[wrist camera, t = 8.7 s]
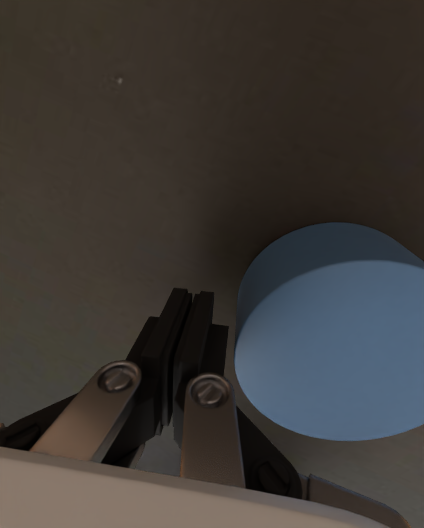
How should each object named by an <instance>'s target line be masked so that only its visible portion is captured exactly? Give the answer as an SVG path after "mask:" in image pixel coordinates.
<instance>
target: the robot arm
mask: <svg viewBox="0 0 424 528" xmlns="http://www.w3.org/2000/svg"><path fill="white" fill-rule="evenodd" d="M213 304H214V292H206V291H201V292H200V294H195V297H194V300H193V303H192V293H188V290H187V289H181V288H174V289H173V291H172V293H171V295H170V297H169V299H168V301H167V303H166V305H165V307H164V309H163V311H162V313H161V315H160V317H152V316H150V317H149V318H148V320H147V322H146V323H145V325H144V327H143V329H142V331H141V332H140V334H139V336H138V338H137V340H136V342H135V343H134V345H133V347H132V349H131V351H130V352H129V354H128V356H127V358H126V360H120V361H114V362H111V363H108V364H106V365H105V366H103V367H101V368H100V369H99V370H98V371H97V372H96V373H95V374H94V376H93V377H92V378H91V379H90V380H89V381H88V383H87V384H86V385H85V386H84V387H83V388H82V390H81V391H80V392H79V393H77V394H75V395H73V396H70V397H68V398H66V399H64V400H62V401H59V402H57V403H55V404H53V405H51V406H48V407H46V408H44V409H42V410H40V411H37V412H35V413H33V414H31V415H29V416H26V417H24V418H22V419H20V420H18V421H16V422H15V423H13V424H11V425H10V426H8V427H5V426H4V423H0V528H411V527H410V525H409V524H408V522H407V521H406V520H405V519H404V518H403V517H402V516H401V515H400V514H399V513H398V512H397V511H395V510H394V509H392V508H390V507H389V506H387V505H385V504H383V503H380V502H378V501H375V500H373V499H371V498H368V497H366V496H363V495H361V494H358V493H356V492H353V491H351V490H349V489H346V488H344V487H341V486H339V485H336V484H334V483H332V482H329V481H327V480H324V479H322V478H319V477H317V476H314V475H312V474H310V475H309V477H306V476H304V475H301V474H299V473H297V471H296V470H295V468H294V467H293V466H292V464H291V463H290V462H289V461H288V460H287V459H286V458H285V457H284V456H283V455H282V454H281V453H280V451H279V450H278V449H277V448H276V447H275V446H274V445H273V444H272V443H271V442H270V441H269V440H268V439H267V438H266V437H265V436H264V435H263V433H262V432H261V431H260V430H259V429H258V428H257V427H256V426H255V425H254V424H253V423H252V422H251V421H250V420H249V419H248V418H247V416H246V415H245V414H244V413H243V412H242V411H241V410H240V409H239V408H238V407H237V406H236V403H235V395H234V390H233V386H232V385H231V383H230V382H229V380H227V379H226V378H225V377H224V367H225V357H226V348H227V338H228V328H229V326H223V325H215V324H212V317H213ZM172 413H173V427H174V440H175V442H176V443H177V445H178V446H179V448H180V449H181V451H182V452H181V467H180V477H176V476H170V475H164V474H159V473H153V472H147V471H141V470H135V467H136V465H137V463H138V461H139V459H140V457H141V455H142V453H143V451H144V447H145V442H146V441H148V440H149V439H151V438H152V437H154V436H155V435H159V436H160V435H161V432H162V429H163V425H165V426H169V423H170V420H171V416H172Z"/></svg>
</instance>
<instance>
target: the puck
mask: <svg viewBox="0 0 424 528" xmlns="http://www.w3.org/2000/svg"><path fill="white" fill-rule="evenodd" d="M234 365H235V372H236V375H237V379H238V382H239V384H240V386H241V388H242V390H243V392H244V394H245V395H246V396H247V398H248V399H249V401H250V402H251V403H252V404H253V405H254V406H255V407H256V408H257V409H258V410H259V411H260V412H261V413H262V414H264V415H265V416H266V417H267V418H269V419H270V420H272V421H274V422H275V423H277V424H279V425H281V426H283V427H285V428H287V429H289V430H292V431H294V432H297V433H300V434H303V435H307V436H310V437H315V438H320V439H327V440H336V441H359V440H370V439H377V438H382V437H387V436H392V435H395V434H399V433H402V432H405V431H408V430H410V429H413V428H415V427H418V426H420V425H422V424H424V261H422V260H421V259H420V258H418V257H417V256H416V255H414V254H413V253H412V252H410V251H409V250H408V249H406V248H405V247H403V246H402V245H401V244H399V243H398V242H397V241H395V240H394V239H392V238H391V237H389V236H388V235H386V234H384V233H382V232H380V231H378V230H376V229H373V228H370V227H367V226H363V225H359V224H352V223H340V222H332V223H321V224H316V225H311V226H307V227H304V228H301V229H298V230H295V231H293V232H290V233H288V234H286V235H284V236H282V237H281V238H279V239H277V240H276V241H274V242H273V243H271V244H270V245H269V246H268V247H266V248H265V249H264V250H263V251H262V252H261V253H260V254H259V255H258V256H257V257H256V258H255V259H254V260H253V262H252V263H251V265H250V266H249V267H248V269H247V271H246V273H245V275H244V276H243V279H242V282H241V284H240V288H239V293H238V301H237V317H236V332H235V348H234Z"/></svg>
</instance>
